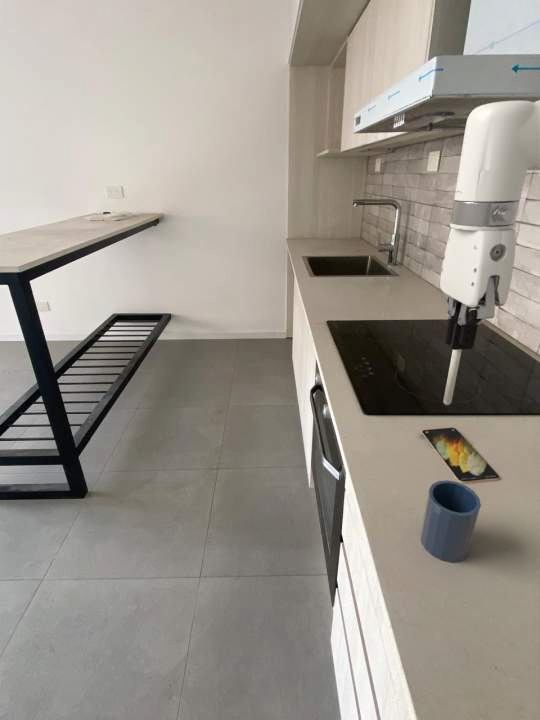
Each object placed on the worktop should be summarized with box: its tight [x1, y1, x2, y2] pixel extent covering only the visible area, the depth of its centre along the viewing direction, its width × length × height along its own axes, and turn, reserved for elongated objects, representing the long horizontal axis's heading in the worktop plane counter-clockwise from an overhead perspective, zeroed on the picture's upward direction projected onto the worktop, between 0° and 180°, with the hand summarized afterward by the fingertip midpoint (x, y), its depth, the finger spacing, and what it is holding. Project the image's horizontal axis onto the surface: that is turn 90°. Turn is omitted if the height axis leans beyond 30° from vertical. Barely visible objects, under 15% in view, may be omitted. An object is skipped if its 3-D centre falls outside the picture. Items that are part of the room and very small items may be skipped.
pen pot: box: [420, 479, 482, 563], centre depth 54 cm, size 6×6×9 cm
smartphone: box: [421, 427, 500, 484], centre depth 73 cm, size 7×1×15 cm
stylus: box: [443, 314, 463, 407], centre depth 60 cm, size 1×1×16 cm
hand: (458, 345), depth 59 cm, fingers closed on stylus, 1 cm apart
